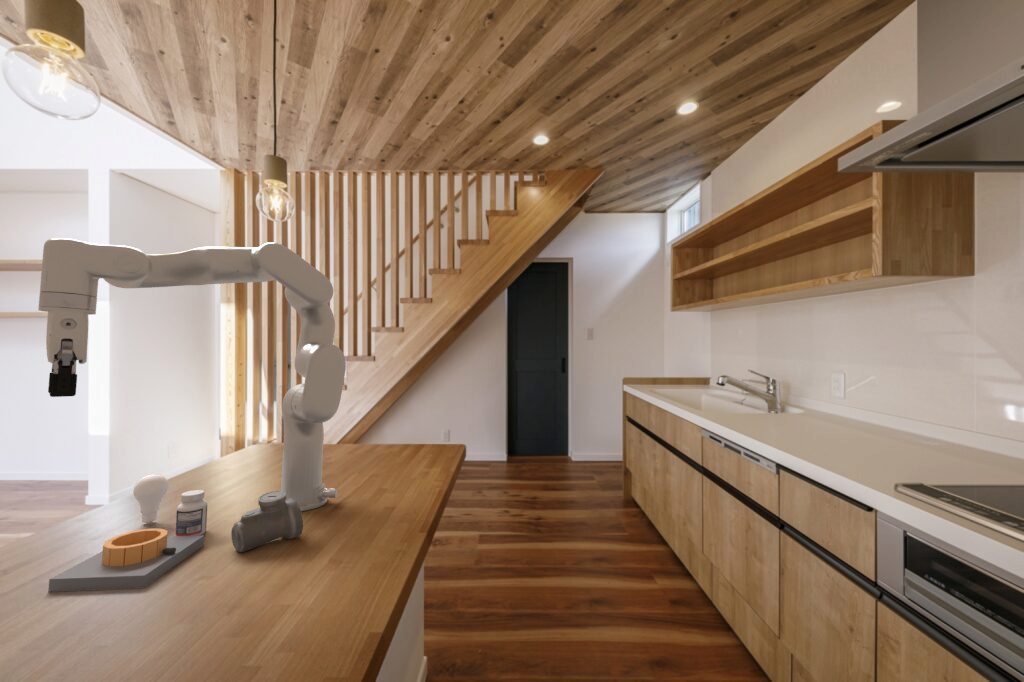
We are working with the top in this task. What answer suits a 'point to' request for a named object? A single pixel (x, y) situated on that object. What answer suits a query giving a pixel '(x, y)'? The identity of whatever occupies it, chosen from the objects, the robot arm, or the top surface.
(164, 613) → the top surface
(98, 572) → the plate
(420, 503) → the top surface
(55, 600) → the top surface
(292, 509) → the pipe fitting
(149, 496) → the lightbulb
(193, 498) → the pill bottle
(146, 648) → the top surface
